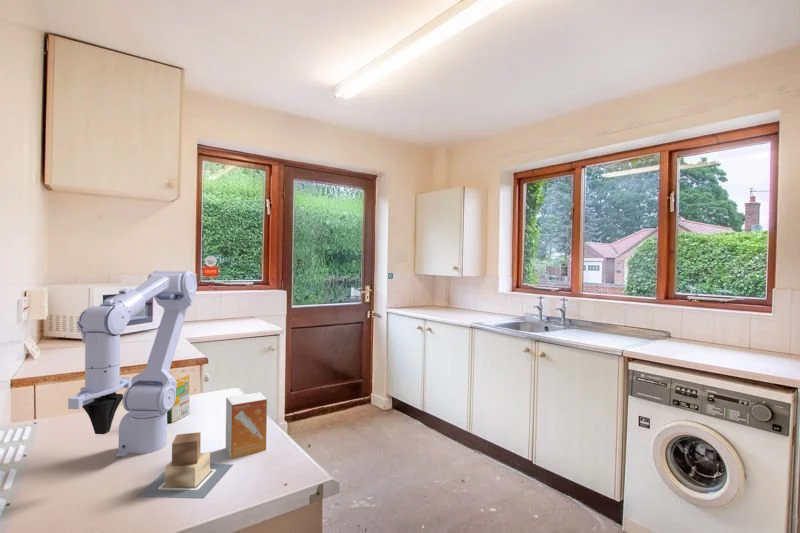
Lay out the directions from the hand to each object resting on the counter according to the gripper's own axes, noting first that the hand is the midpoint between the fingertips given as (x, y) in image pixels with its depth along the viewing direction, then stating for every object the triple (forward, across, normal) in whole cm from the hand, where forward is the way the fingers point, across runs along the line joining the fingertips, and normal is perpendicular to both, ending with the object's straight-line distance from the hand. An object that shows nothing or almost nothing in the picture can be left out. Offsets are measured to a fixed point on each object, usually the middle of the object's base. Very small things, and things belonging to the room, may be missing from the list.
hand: (102, 432), depth 84 cm
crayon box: (+10, -35, -5) cm, 37 cm away
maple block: (+10, -1, +17) cm, 20 cm away
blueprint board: (+10, -1, +17) cm, 20 cm away
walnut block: (+6, -1, +17) cm, 18 cm away
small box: (+10, -15, +23) cm, 30 cm away
